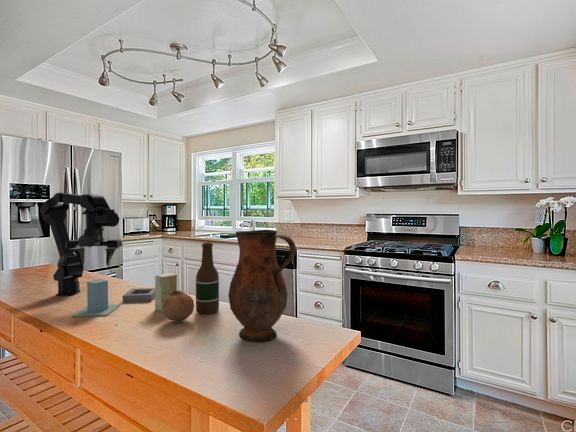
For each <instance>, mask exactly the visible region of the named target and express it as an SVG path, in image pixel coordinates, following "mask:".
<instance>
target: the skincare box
mask: <svg viewBox="0 0 576 432" xmlns="http://www.w3.org/2000/svg"><path fill="white" fill-rule="evenodd" d="M154 280H155V281H154V282H155V286H154V288H155V298H154V300H155V301H154V303H155V304H154V309H155V310H156V311H159V312H163V310H162V305H163V302H164V300H165V299H166V298H167V297H168V296H169V294H170V293H173V292H174V291H178V285H177V284H178V274H176V273H172V272H169V273H162V274H157V275H155V279H154Z"/></svg>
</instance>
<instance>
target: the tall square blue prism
mask: <svg viewBox="0 0 576 432" xmlns="http://www.w3.org/2000/svg"><path fill="white" fill-rule="evenodd" d="M108 281H109V280H107V279H101V278H99V279H94V280H90V281H87V282H86V288H87V290H86V291H87V292H86V293H87V294H86V295H87V297H86V299H87V301H86V303H87V304H86V307H87V309H88V311H91V312H95V313H96V312H99V311H102V310H106V309H108V305H109V282H108Z"/></svg>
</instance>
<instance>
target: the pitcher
mask: <svg viewBox="0 0 576 432" xmlns="http://www.w3.org/2000/svg"><path fill="white" fill-rule="evenodd" d="M277 234H278V231H277V230H273V229H257V230H244V231H243V230H242V231H235V235H236V239H237V243H238V244H237V245H238V248H239V256H238V262H237V265H236V268H235V270H234V274H233V276H232V278H231V281H230V283H229V289H228V302H229V307H230V310H231V312H232V314H233V316H235V318H236V320H237V321H239V323H240V325H242V326H243V327H242V328H241V329H240V330H239V332H238V335H239V337H240V338H241V339H243V340H244V341H247V342H250V343H251V342H252V343H266V342H269V341H271V340H274V339H276V338H277V336H278V335H277V331H276V330H275V329H274V328H272V327H274V325H276V323H277V322H278V321H279V320H280V319H281V316H283V313H284V312H285V310H286V307H287V303H288V291H287V285H286V282H285V279H284V276H283V274H282V271H283V270H284V269H285V267H286V266H288V265H289V264H290V263H291V261H293V259H294V258H295V256H296V252H297V248H296V244H295V242H294V240H293V239H292V238H291V237H290V236H287V235H283V234H282V235H277ZM277 238H278V239H281V240H284V241H285V242H286V243H287V244H288V246H289V255H288V257H287V258H286V259H285V261H284V262H283V263H281V265H279V262H278V259H277V250H276V246H277V245H276V243H277Z"/></svg>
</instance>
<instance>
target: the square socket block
mask: <svg viewBox="0 0 576 432" xmlns="http://www.w3.org/2000/svg"><path fill="white" fill-rule="evenodd" d="M153 300H155V287H150V288H149V287H143V288H142V287H141V288H140V287H139V288H131V289H129V290H128V291H126V293H124V294H123V295H122V303H138V302H139V303H140V302H142V303H144V302H153Z"/></svg>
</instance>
